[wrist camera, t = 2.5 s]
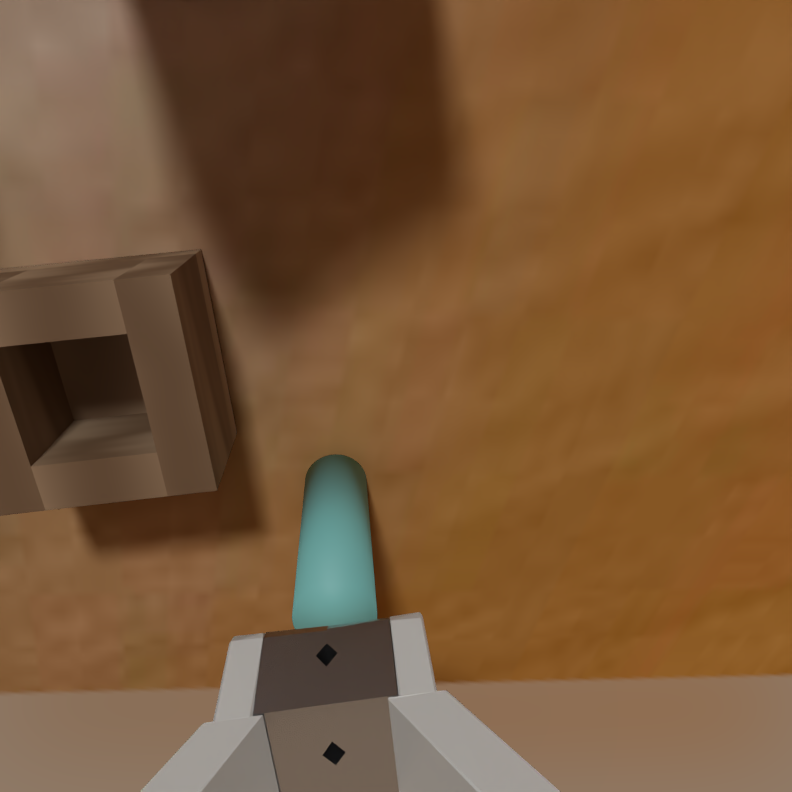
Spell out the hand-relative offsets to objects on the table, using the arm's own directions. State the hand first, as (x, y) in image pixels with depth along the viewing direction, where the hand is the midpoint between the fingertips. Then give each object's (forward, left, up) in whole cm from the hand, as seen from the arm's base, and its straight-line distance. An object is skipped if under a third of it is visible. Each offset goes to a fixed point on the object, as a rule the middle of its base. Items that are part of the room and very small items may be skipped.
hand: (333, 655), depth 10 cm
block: (+9, 0, -18) cm, 20 cm away
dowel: (+1, +7, -18) cm, 19 cm away
